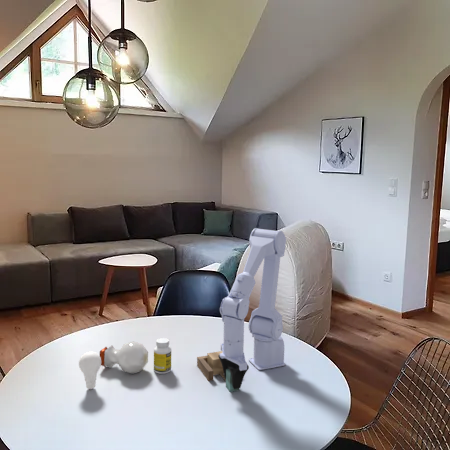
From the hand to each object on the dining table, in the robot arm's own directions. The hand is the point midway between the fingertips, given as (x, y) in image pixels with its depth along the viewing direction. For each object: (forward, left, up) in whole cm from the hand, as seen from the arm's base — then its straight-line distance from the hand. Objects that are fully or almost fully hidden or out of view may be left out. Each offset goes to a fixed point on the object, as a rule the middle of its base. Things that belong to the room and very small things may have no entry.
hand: (232, 383), depth 131 cm
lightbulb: (+38, -14, -2) cm, 41 cm away
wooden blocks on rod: (0, -6, -2) cm, 7 cm away
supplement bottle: (+16, -18, -2) cm, 24 cm away
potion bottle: (+27, -22, -2) cm, 35 cm away
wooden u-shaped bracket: (0, -11, -2) cm, 11 cm away
